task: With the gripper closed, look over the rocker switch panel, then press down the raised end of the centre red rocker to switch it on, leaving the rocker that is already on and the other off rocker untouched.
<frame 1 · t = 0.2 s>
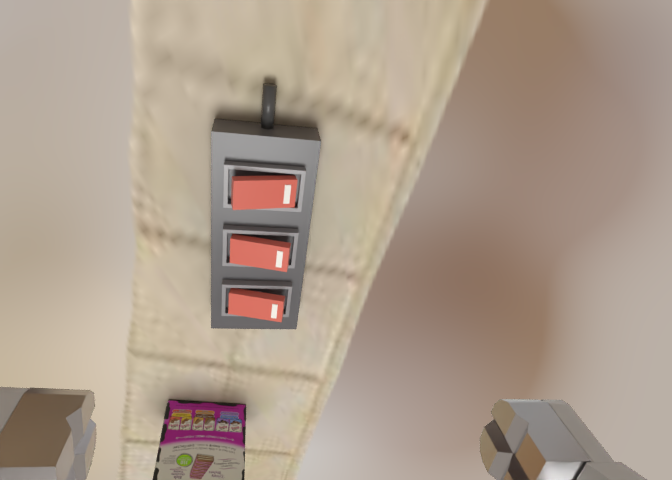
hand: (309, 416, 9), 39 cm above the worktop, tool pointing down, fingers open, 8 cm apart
rocker 1: (264, 192, 44), point 5 cm above the worktop, hinge at -12.0°
rocker 3: (256, 305, 51), point 5 cm above the worktop, hinge at 12.0°
rocker 2: (260, 253, 48), point 5 cm above the worktop, hinge at 12.0°
candy bar box: (206, 411, 68), on the worktop
rocker switch panel: (260, 227, 52), on the worktop
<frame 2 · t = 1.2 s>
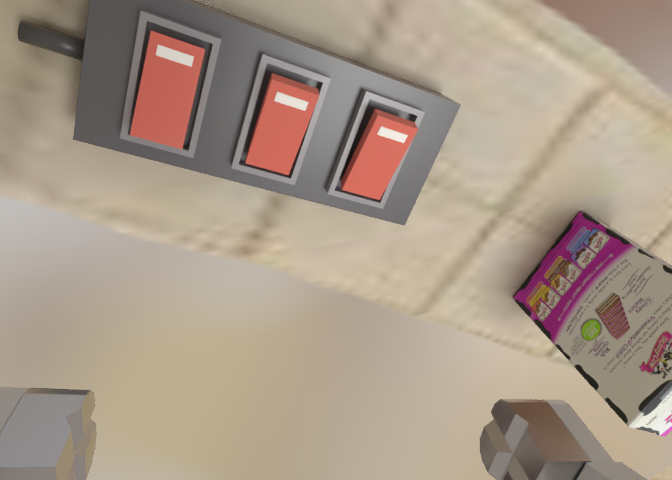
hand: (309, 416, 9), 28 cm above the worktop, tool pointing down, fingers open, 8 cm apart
rocker 1: (167, 92, 27), point 5 cm above the worktop, hinge at -12.0°
rocker 3: (377, 157, 32), point 5 cm above the worktop, hinge at 12.0°
rocker 2: (280, 127, 30), point 5 cm above the worktop, hinge at 12.0°
candy bar box: (560, 261, 47), on the worktop
rocker switch panel: (274, 108, 34), on the worktop
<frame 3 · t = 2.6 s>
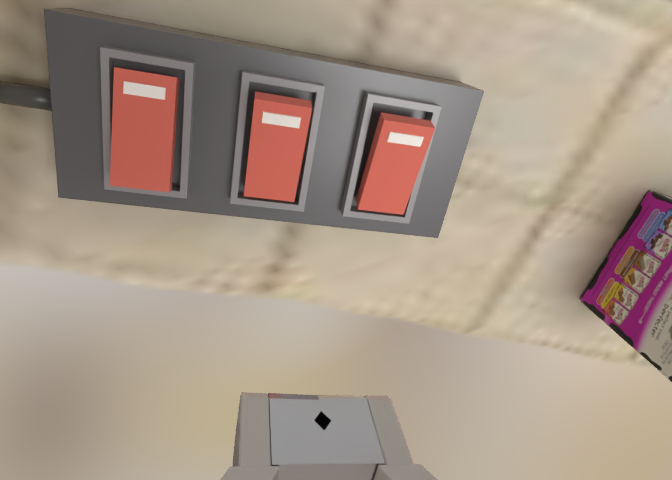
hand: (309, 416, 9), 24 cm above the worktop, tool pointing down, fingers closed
rocker 1: (144, 132, 25), point 5 cm above the worktop, hinge at -12.0°
rocker 3: (392, 167, 28), point 5 cm above the worktop, hinge at 12.0°
rocker 2: (275, 150, 26), point 5 cm above the worktop, hinge at 12.0°
candy bar box: (631, 251, 40), on the worktop
rocker switch panel: (273, 129, 31), on the worktop
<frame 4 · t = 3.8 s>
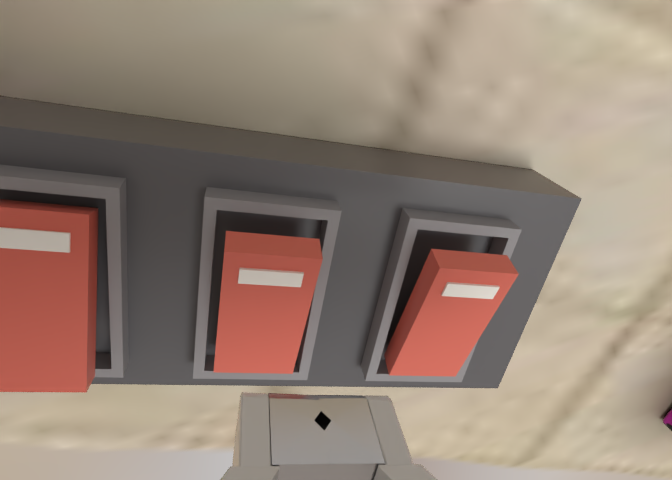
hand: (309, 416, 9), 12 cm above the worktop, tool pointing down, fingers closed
rocker 1: (40, 299, 15), point 5 cm above the worktop, hinge at -12.0°
rocker 3: (444, 319, 18), point 5 cm above the worktop, hinge at 12.0°
rocker 2: (262, 311, 16), point 5 cm above the worktop, hinge at 12.0°
rocker switch panel: (259, 244, 21), on the worktop
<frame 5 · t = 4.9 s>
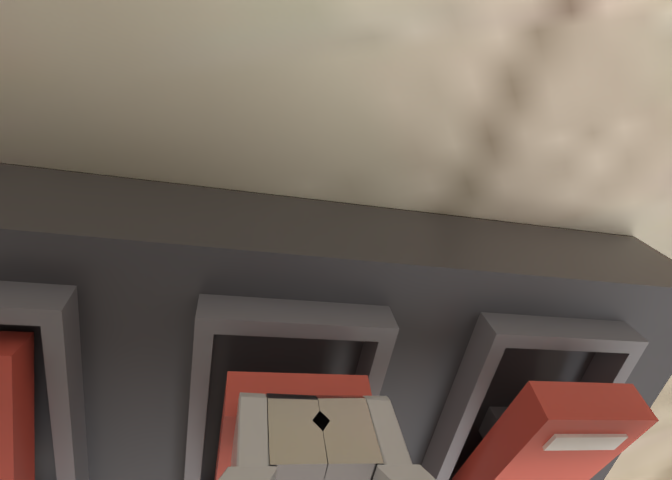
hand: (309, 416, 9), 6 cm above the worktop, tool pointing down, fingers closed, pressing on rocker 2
rocker 3: (534, 463, 13), point 5 cm above the worktop, hinge at 12.0°
rocker 2: (280, 468, 11), point 5 cm above the worktop, hinge at 11.5°, touching gripper
rocker switch panel: (272, 335, 16), on the worktop
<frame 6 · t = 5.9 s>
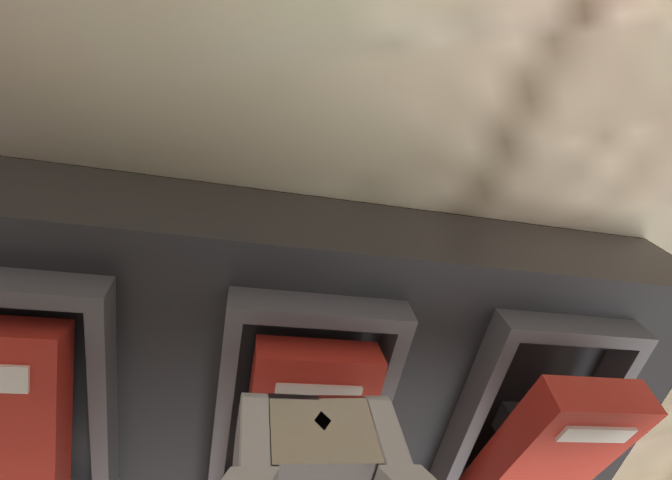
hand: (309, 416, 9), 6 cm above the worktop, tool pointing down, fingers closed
rocker 3: (546, 456, 13), point 5 cm above the worktop, hinge at 12.0°
rocker 2: (302, 453, 12), point 5 cm above the worktop, hinge at -7.7°
rocker switch panel: (291, 329, 16), on the worktop
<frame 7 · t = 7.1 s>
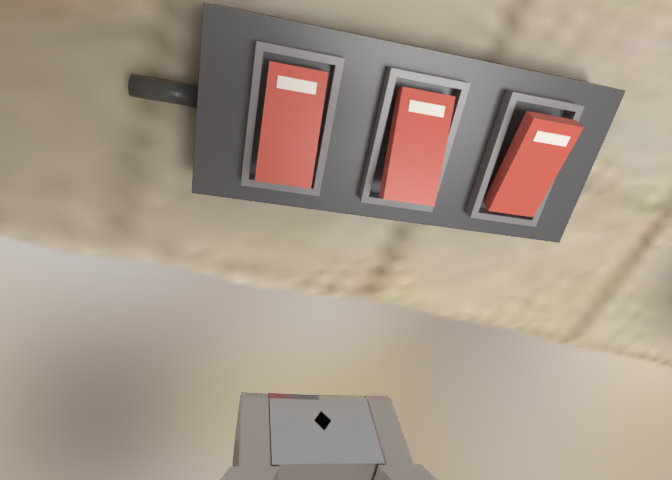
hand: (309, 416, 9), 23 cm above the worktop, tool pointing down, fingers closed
rocker 1: (290, 127, 24), point 5 cm above the worktop, hinge at -12.0°
rocker 3: (530, 167, 27), point 5 cm above the worktop, hinge at 12.0°
rocker 2: (416, 148, 26), point 5 cm above the worktop, hinge at -15.1°
rocker switch panel: (395, 128, 30), on the worktop
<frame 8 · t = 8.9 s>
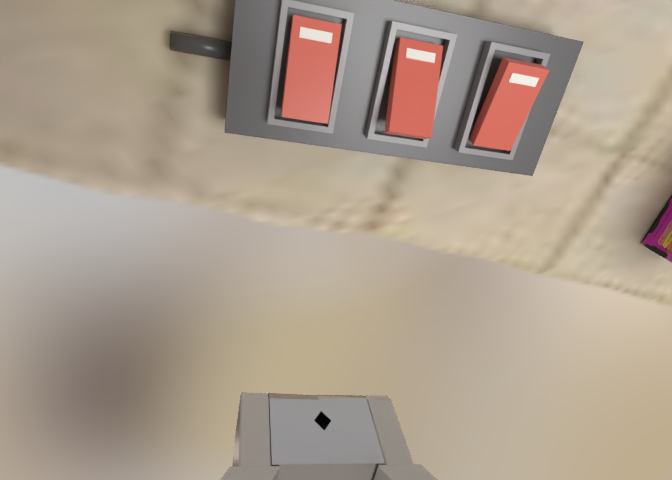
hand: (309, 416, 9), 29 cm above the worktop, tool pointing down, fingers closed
rocker 1: (310, 71, 29), point 5 cm above the worktop, hinge at -12.0°
rocker 3: (507, 106, 32), point 5 cm above the worktop, hinge at 12.0°
rocker 2: (413, 89, 31), point 5 cm above the worktop, hinge at -21.2°, touching rocker switch panel
rocker switch panel: (393, 79, 35), on the worktop
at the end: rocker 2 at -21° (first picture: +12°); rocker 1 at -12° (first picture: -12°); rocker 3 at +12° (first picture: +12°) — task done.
